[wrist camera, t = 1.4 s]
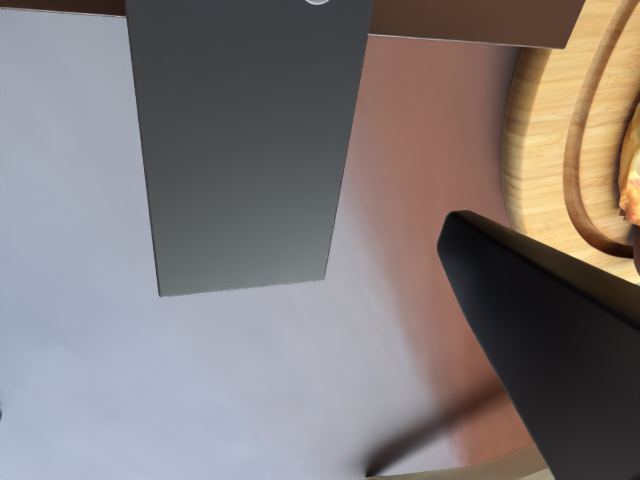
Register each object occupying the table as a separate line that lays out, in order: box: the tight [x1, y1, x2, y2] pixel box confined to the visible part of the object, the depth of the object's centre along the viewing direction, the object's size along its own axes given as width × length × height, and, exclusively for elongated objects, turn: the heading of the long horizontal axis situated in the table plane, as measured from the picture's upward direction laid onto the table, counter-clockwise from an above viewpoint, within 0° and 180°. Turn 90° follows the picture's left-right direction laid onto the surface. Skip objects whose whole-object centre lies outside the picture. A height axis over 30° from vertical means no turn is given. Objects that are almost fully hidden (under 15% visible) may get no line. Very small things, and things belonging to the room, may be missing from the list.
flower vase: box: [364, 443, 555, 480], centre depth 43 cm, size 12×12×35 cm
